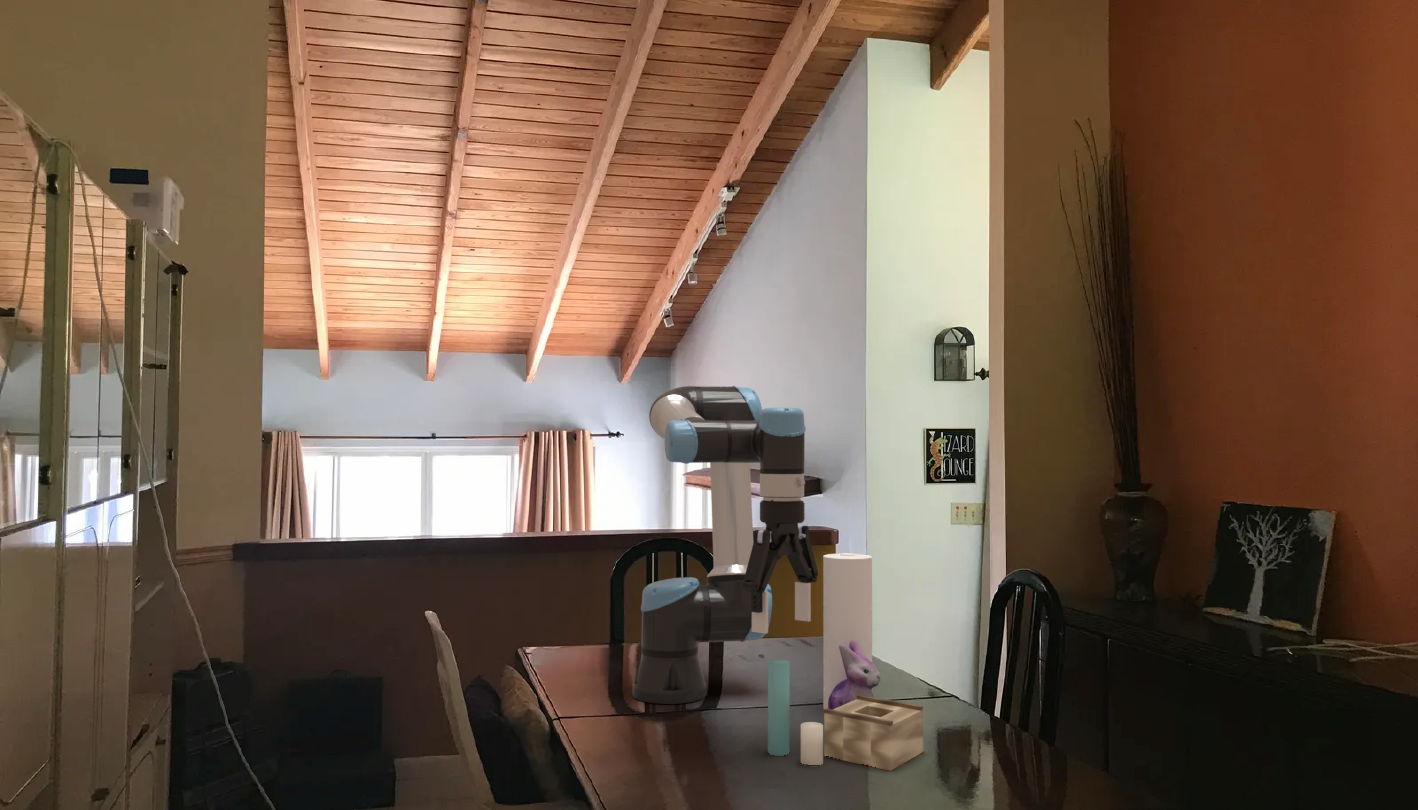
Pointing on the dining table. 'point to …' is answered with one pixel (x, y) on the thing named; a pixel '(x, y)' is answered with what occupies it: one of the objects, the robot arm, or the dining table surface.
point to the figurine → (854, 676)
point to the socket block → (874, 732)
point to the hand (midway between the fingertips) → (782, 626)
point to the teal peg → (778, 707)
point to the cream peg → (812, 743)
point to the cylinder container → (845, 612)
